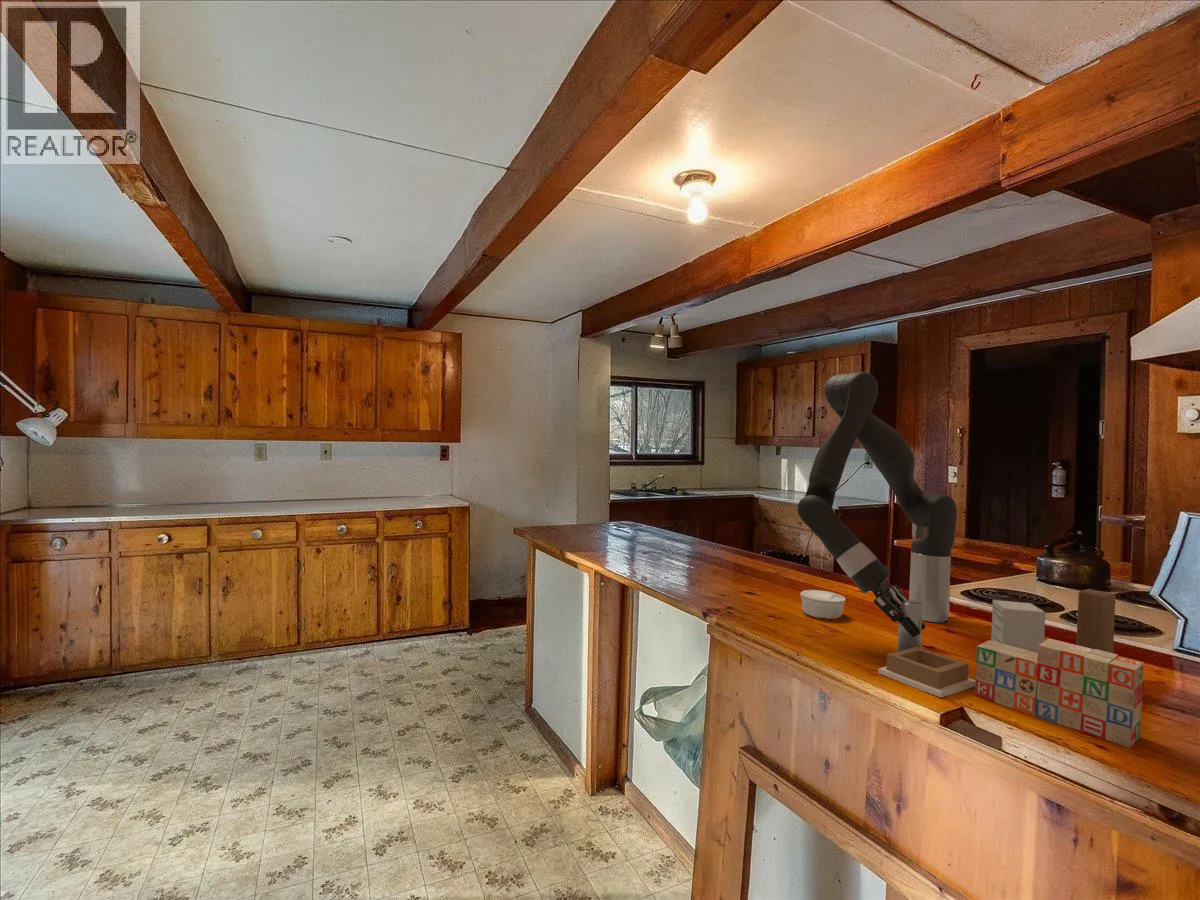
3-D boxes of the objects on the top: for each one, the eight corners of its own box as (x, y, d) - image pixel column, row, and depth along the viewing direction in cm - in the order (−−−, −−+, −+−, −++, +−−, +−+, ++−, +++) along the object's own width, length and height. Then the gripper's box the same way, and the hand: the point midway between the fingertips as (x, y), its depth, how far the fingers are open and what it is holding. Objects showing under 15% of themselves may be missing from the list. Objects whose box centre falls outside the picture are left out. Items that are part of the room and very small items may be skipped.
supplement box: (1029, 661, 122) (1032, 602, 122) (1044, 674, 115) (1046, 612, 115) (989, 656, 124) (991, 598, 124) (1001, 668, 117) (1003, 607, 117)
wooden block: (1092, 674, 116) (1096, 586, 116) (1121, 682, 112) (1125, 591, 112) (1073, 682, 111) (1077, 590, 111) (1103, 691, 107) (1107, 596, 107)
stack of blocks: (973, 696, 103) (976, 628, 103) (987, 688, 107) (989, 623, 107) (1132, 749, 86) (1135, 668, 86) (1141, 738, 90) (1145, 660, 90)
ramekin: (852, 622, 146) (852, 601, 146) (808, 620, 146) (809, 600, 146) (834, 609, 157) (835, 590, 157) (794, 608, 157) (794, 589, 157)
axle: (904, 648, 127) (907, 599, 127) (924, 655, 123) (926, 604, 123) (893, 651, 125) (895, 601, 125) (912, 658, 121) (915, 606, 121)
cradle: (913, 663, 118) (914, 644, 118) (975, 685, 108) (976, 664, 108) (878, 673, 112) (879, 653, 112) (940, 698, 102) (941, 675, 101)
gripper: (867, 561, 123) (928, 630, 115) (883, 553, 134) (940, 615, 126) (840, 581, 126) (898, 649, 119) (858, 572, 137) (912, 633, 130)
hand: (919, 631), depth 123 cm, fingers closed on axle, 4 cm apart
